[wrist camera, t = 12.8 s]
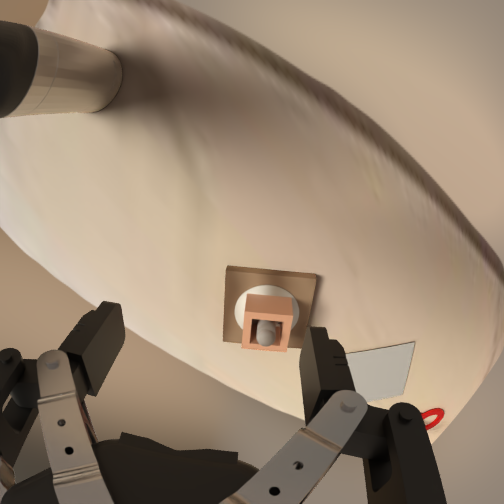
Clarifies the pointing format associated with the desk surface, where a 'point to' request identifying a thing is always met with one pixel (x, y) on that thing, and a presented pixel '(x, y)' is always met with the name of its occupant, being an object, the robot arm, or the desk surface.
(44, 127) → the desk surface
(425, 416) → the tow hook
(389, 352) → the grey flat panel
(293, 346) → the post stand
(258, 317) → the collar
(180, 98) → the desk surface
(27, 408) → the robot arm
